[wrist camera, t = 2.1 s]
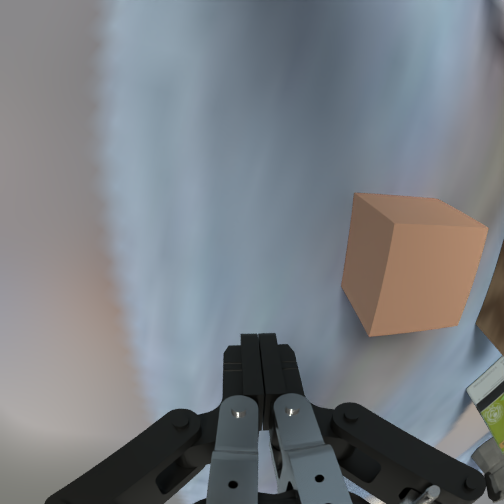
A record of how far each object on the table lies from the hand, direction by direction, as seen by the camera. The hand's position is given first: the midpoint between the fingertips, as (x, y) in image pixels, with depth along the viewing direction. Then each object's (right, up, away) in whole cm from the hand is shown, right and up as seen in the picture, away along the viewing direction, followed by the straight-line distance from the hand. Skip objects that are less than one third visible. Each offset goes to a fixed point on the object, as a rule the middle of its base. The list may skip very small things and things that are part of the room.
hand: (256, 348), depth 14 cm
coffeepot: (+53, -40, +34) cm, 75 cm away
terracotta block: (+11, +5, +11) cm, 17 cm away
